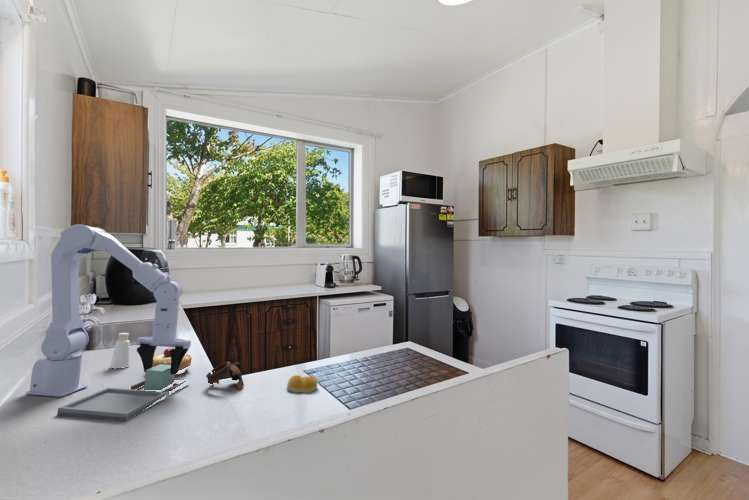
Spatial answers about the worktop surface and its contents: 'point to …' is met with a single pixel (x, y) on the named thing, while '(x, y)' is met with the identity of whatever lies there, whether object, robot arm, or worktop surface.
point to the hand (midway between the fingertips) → (160, 372)
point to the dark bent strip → (144, 383)
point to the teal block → (158, 377)
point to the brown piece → (227, 373)
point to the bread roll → (301, 384)
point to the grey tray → (111, 404)
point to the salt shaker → (121, 352)
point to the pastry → (166, 360)
